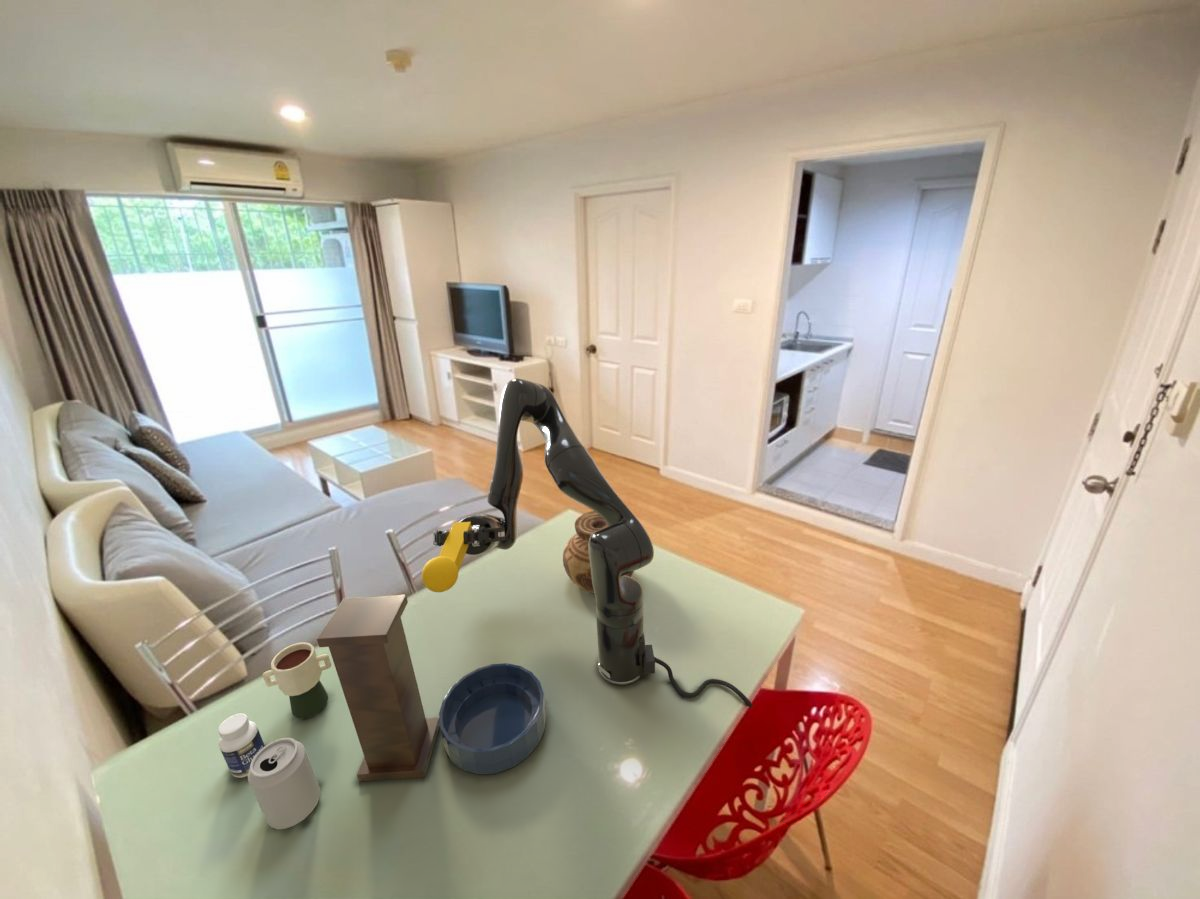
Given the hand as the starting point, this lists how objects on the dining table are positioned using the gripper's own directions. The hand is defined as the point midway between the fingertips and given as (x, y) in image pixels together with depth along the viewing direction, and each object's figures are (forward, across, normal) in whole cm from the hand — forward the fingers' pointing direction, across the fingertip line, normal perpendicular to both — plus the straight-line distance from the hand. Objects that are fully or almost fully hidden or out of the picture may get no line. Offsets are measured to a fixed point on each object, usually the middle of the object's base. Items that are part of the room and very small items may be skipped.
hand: (455, 538), depth 82 cm
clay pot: (-48, +24, +15) cm, 56 cm away
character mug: (-19, -34, +32) cm, 50 cm away
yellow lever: (+2, 0, +4) cm, 4 cm away
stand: (-10, -13, +37) cm, 40 cm away
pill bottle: (-9, -39, +37) cm, 54 cm away
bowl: (-13, +3, +35) cm, 37 cm away
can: (-2, -27, +41) cm, 49 cm away
